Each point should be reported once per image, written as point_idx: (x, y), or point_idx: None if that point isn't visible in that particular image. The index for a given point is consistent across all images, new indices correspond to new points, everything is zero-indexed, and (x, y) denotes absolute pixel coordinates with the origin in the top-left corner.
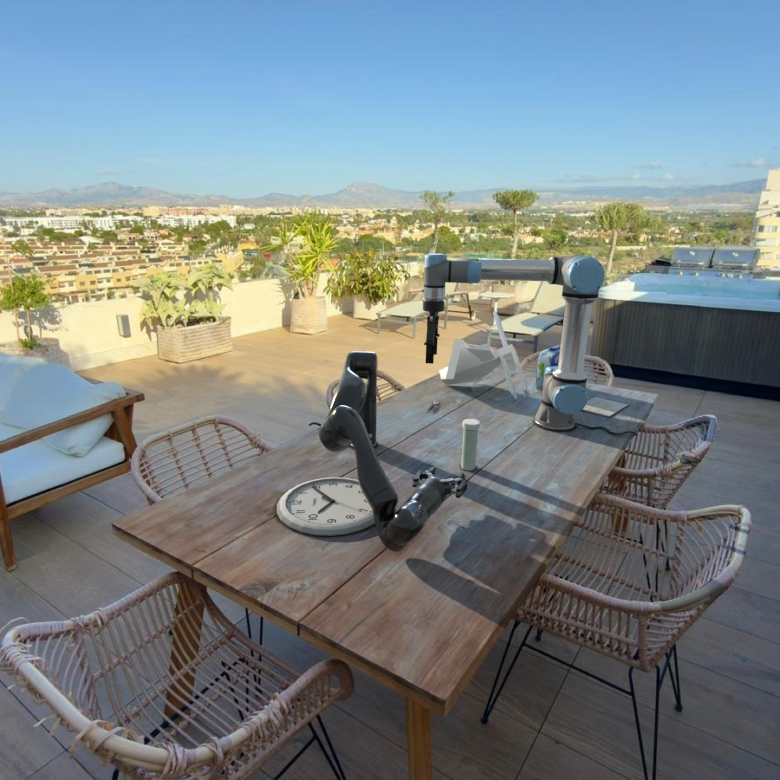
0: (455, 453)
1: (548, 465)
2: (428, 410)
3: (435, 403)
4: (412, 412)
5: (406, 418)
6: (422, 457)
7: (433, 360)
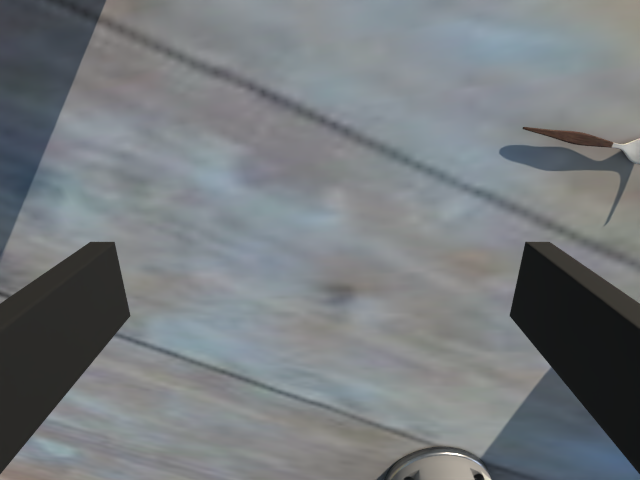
0: (145, 252)
1: (159, 450)
2: (526, 128)
3: (625, 149)
4: (520, 54)
5: (439, 37)
6: (72, 154)
7: (108, 333)
